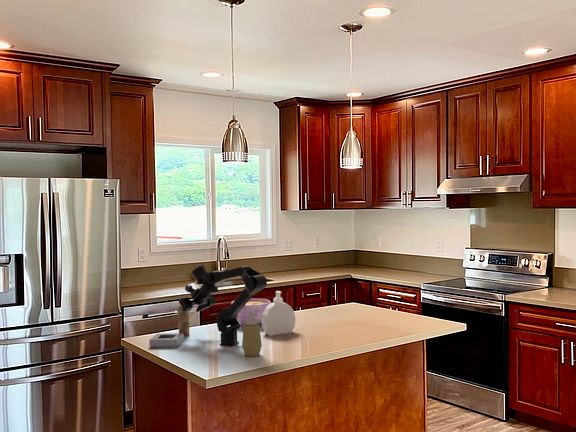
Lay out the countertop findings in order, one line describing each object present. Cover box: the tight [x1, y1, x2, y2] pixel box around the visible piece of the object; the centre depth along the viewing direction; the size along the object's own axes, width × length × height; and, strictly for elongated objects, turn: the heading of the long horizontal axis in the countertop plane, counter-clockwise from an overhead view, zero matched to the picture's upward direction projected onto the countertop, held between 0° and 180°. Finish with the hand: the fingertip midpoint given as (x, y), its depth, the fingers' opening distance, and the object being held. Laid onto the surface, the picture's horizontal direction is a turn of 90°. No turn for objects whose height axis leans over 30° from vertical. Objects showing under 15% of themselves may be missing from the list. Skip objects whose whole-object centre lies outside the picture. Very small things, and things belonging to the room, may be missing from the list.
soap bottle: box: [260, 290, 296, 337], centre depth 277 cm, size 16×5×20 cm, turn 119°
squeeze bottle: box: [241, 311, 263, 358], centre depth 239 cm, size 8×8×18 cm
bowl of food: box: [231, 298, 271, 326], centre depth 299 cm, size 20×20×12 cm
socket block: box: [148, 332, 185, 349], centre depth 260 cm, size 12×12×4 cm
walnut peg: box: [177, 304, 190, 337], centre depth 277 cm, size 5×5×14 cm
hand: (189, 312), depth 274 cm, fingers open, 9 cm apart
